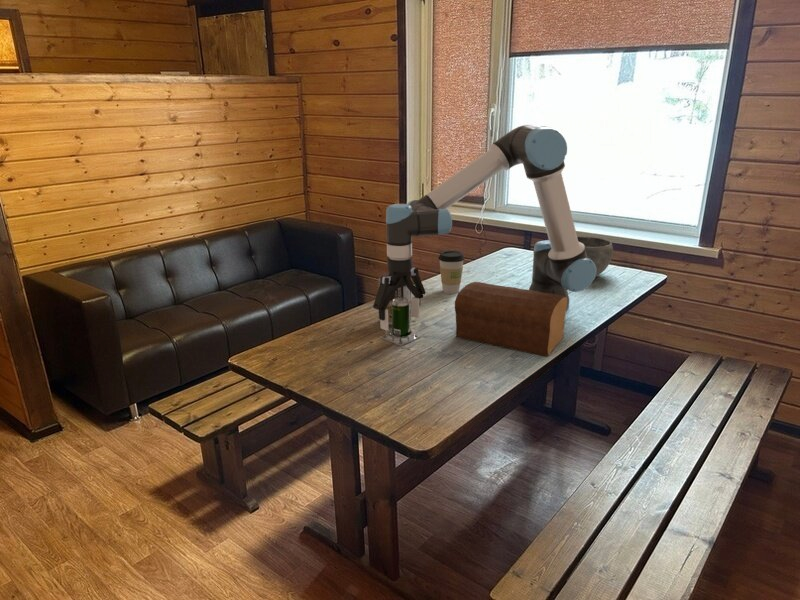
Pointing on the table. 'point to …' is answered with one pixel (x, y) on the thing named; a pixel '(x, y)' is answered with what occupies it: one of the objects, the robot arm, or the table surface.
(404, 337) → the duct flange
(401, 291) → the coffee box
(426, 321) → the table surface
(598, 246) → the bowl
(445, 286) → the coffee cup
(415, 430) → the table surface
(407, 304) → the beer can
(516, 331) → the bread
